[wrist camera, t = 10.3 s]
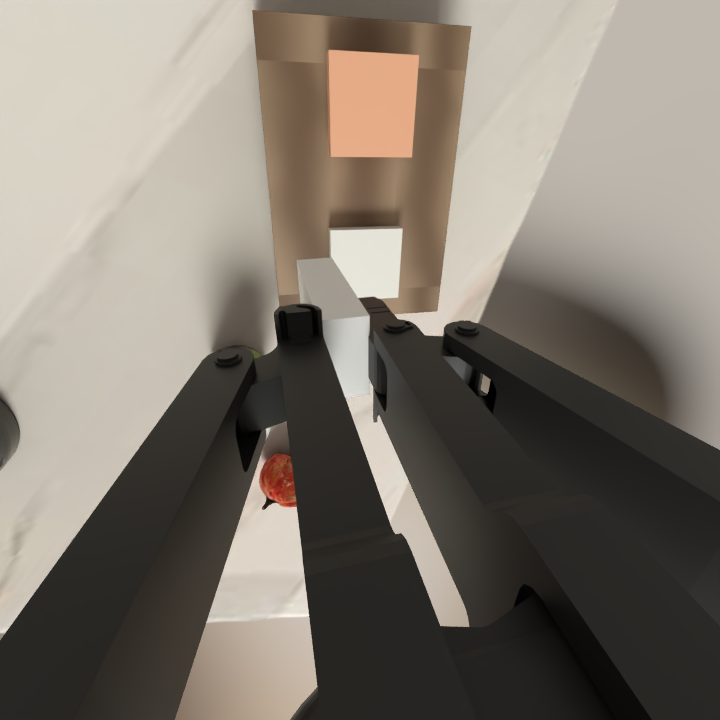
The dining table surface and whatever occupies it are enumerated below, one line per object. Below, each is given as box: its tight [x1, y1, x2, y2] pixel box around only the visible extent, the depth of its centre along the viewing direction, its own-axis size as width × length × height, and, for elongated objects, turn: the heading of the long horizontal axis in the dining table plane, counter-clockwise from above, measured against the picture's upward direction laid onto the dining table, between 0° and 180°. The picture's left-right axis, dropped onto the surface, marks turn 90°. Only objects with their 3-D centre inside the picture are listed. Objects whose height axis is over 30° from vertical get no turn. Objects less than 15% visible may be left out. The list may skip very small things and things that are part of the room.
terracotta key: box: [326, 50, 419, 157], centre depth 32 cm, size 6×6×8 cm
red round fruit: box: [259, 453, 297, 510], centre depth 53 cm, size 7×7×10 cm
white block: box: [328, 226, 403, 299], centre depth 39 cm, size 6×6×8 cm
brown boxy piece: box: [252, 10, 471, 314], centre depth 37 cm, size 16×23×7 cm
